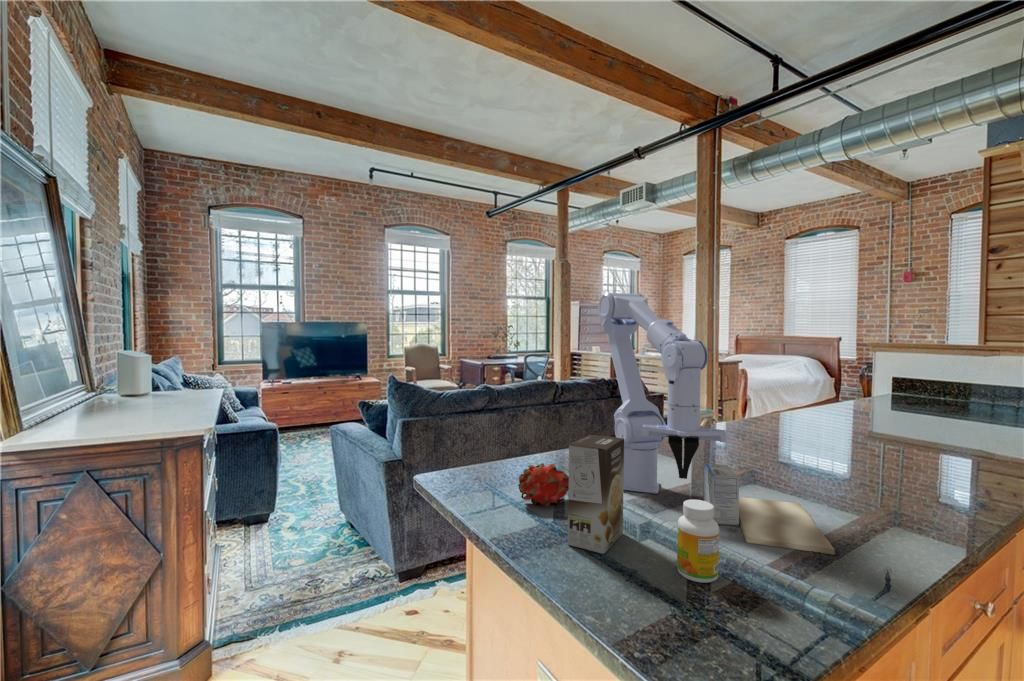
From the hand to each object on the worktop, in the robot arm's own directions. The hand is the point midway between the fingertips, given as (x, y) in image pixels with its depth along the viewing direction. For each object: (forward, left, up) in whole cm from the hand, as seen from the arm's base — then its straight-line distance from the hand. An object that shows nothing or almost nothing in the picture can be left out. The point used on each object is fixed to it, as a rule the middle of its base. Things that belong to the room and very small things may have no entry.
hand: (682, 477), depth 86 cm
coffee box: (-14, -17, -7) cm, 23 cm away
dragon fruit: (-26, -4, -7) cm, 27 cm away
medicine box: (+6, 0, -7) cm, 9 cm away
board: (+15, 0, -7) cm, 17 cm away
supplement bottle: (+1, -23, -7) cm, 24 cm away
